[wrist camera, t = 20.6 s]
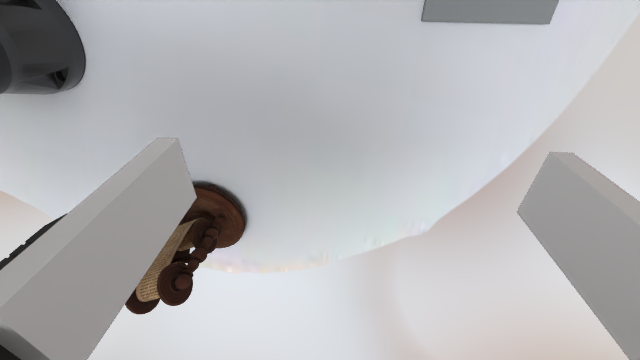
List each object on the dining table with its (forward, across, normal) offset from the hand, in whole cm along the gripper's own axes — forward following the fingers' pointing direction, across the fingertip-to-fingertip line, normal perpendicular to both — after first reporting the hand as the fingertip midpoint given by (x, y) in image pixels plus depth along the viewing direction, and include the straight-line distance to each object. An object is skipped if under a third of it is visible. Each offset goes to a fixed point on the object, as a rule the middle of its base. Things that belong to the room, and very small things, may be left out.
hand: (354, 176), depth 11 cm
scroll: (+31, -24, -30) cm, 50 cm away
